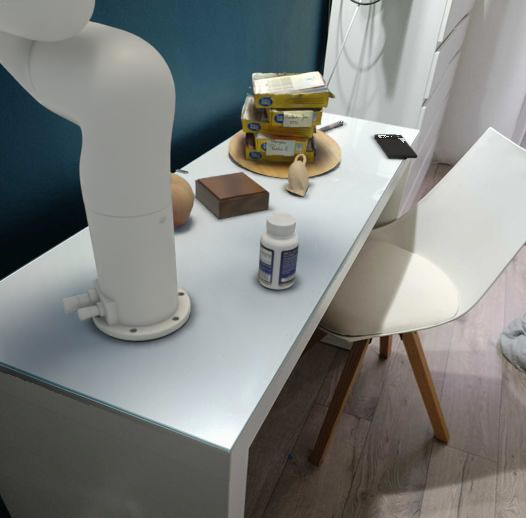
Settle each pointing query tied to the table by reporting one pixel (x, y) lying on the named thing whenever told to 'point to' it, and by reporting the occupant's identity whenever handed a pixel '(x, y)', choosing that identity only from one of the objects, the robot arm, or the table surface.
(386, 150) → the smartphone
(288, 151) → the boxes on round tray
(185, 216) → the fruit
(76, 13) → the robot arm
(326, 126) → the pen
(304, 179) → the decorative ornament
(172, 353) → the table surface
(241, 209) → the block
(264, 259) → the pill bottle
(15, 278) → the table surface
